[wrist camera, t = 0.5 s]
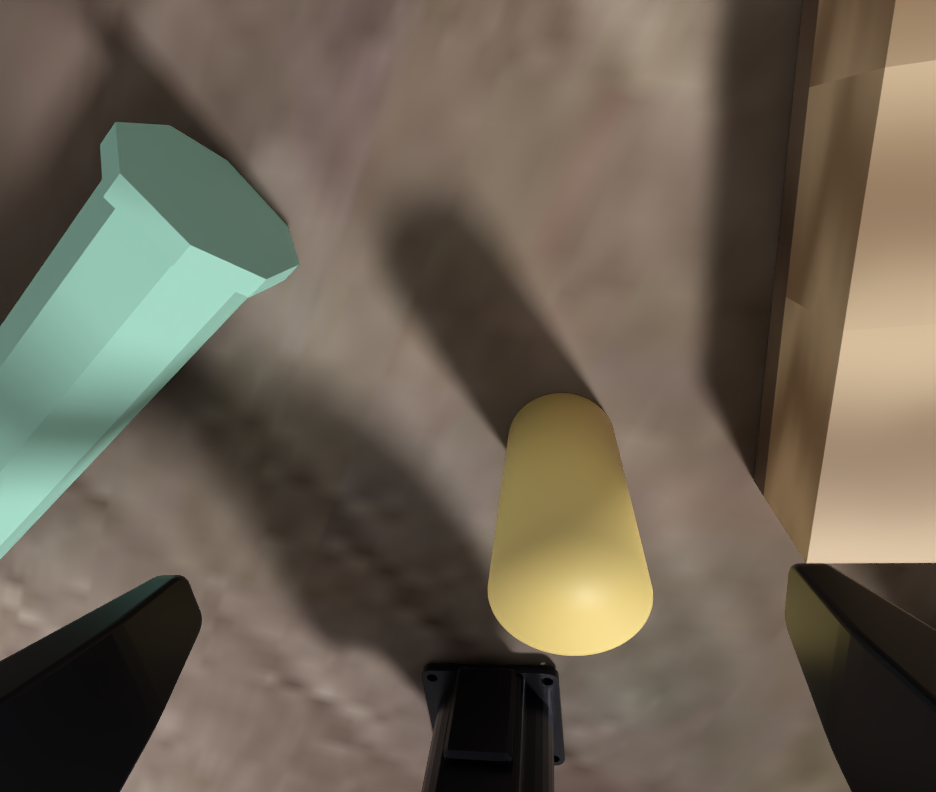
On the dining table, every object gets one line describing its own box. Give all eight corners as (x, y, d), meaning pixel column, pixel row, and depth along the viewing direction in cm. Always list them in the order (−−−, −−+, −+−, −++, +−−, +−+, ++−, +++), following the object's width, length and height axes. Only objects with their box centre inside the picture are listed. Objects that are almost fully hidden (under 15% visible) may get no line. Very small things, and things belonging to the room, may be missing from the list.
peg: (615, 484, 21) (651, 657, 14) (513, 486, 22) (496, 653, 14) (614, 389, 19) (654, 529, 12) (503, 396, 20) (478, 531, 13)
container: (-149, 656, 22) (176, 267, 13) (-204, 534, 23) (66, 83, 14) (15, 593, 28) (329, 287, 18) (-33, 495, 28) (244, 154, 19)
